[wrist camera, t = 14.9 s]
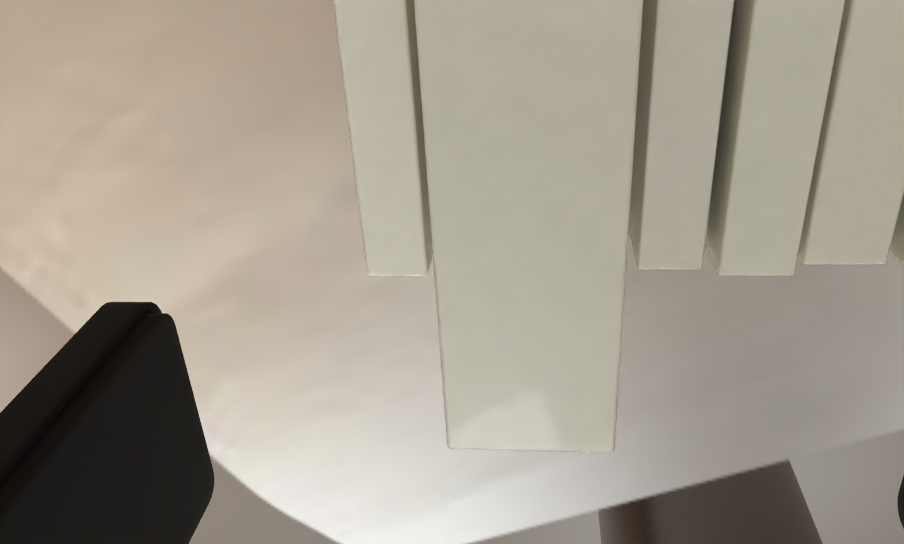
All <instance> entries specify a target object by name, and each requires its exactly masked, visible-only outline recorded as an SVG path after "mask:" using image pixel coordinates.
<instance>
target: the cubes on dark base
mask: <svg viewBox="0 0 904 544" xmlns="http://www.w3.org/2000/svg"><path fill="white" fill-rule="evenodd" d="M333 2H334V10H335V18H336V26H337V34H338V42H339V50H340V58H341V66H342V74H343V82H344V90H345V98H346V107H347V115H348V123H349V131H350V139H351V147H352V155H353V163H354V171H355V179H356V187H357V195H358V203H359V211H360V219H361V227H362V235H363V243H364V251H365V259H366V267H367V273H368V275H370V276H425V275H427V274H428V271H429V267H430V262H431V258H432V254H433V248H432V235H431V222H430V208H429V195H428V182H427V168H426V155H425V142H424V129H423V115H422V102H421V89H420V75H419V62H418V49H417V35H416V22H415V9H414V0H333ZM629 231H630V236H631V240H632V245H633V249H634V253H635V258H636V262H637V266H638V269H701V268H702V266H703V257H704V249H705V242H706V244H707V247H708V249H709V252H710V254H711V257H712V259H713V262H714V264H715V267H716V269H717V271H718V274H719V275H721V276H772V275H793V274H794V271H795V266H796V261H797V256H798V257H799V259H800V261H801V262H802V263H803V264H885V263H886V261H887V257H888V253H889V249H890V251H891V252H892V253H893V254H894V256H895V257H896V258H897V259H898V260H899V262H900V263H901V264H902V265H903V266H904V0H643V13H642V29H641V44H640V60H639V75H638V91H637V106H636V122H635V137H634V153H633V169H632V184H631V200H630V215H629Z"/></svg>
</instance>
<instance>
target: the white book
mask: <svg viewBox="0 0 904 544" xmlns="http://www.w3.org/2000/svg"><path fill="white" fill-rule="evenodd" d="M414 9H415V22H416V35H417V49H418V62H419V75H420V89H421V102H422V115H423V129H424V142H425V155H426V168H427V182H428V195H429V208H430V222H431V235H432V248H433V262H434V275H435V288H436V301H437V315H438V328H439V341H440V355H441V368H442V381H443V395H444V408H445V421H446V435H447V445H448V447H449V448H450V449H486V450H529V451H572V452H613V451H614V448H615V433H616V417H617V402H618V386H619V371H620V355H621V340H622V324H623V309H624V293H625V277H626V262H627V246H628V231H629V215H630V200H631V184H632V169H633V153H634V137H635V122H636V106H637V91H638V75H639V60H640V44H641V29H642V13H643V0H414Z"/></svg>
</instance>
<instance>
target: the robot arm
mask: <svg viewBox="0 0 904 544" xmlns="http://www.w3.org/2000/svg"><path fill="white" fill-rule="evenodd" d="M213 488H214V472H213V468H212V464H211V460H210V456H209V452H208V449H207V445H206V441H205V437H204V433H203V429H202V426H201V422H200V418H199V414H198V410H197V406H196V403H195V399H194V395H193V391H192V387H191V384H190V380H189V376H188V372H187V368H186V364H185V361H184V357H183V353H182V349H181V345H180V341H179V338H178V334H177V330H176V326H175V323H174V321H173V319H172V317H171V316H170V315H168V314H162V313H161V310H160V309H159V307H158V306H157V305H156V304H154V303H152V302H109V303H106V304H104V305H103V306H102V307H101V308H100V309H99V310H98V311H97V312H96V313H95V314H94V315H93V316H92V317H91V318H90V319H89V320H88V321H87V322H86V323H85V324H84V325H83V326H82V328H81V329H80V330H79V331H78V332H77V333H76V334H75V335H74V336H73V337H72V338H71V339H70V340H69V341H68V342H67V343H66V344H65V345H64V347H63V348H62V349H61V350H60V351H59V352H58V353H57V354H56V355H55V356H54V357H53V358H52V359H51V360H50V361H49V362H48V363H47V364H46V365H45V366H44V368H43V369H42V370H41V371H40V372H39V373H38V374H37V375H36V376H35V377H34V378H33V379H32V380H31V381H30V382H29V383H28V384H27V385H26V386H25V388H24V389H23V390H22V391H21V392H20V393H19V394H18V395H17V396H16V397H15V398H14V399H13V400H12V401H11V402H10V403H9V404H8V405H7V407H5V409H4V410H3V411H2V412H1V413H0V544H189V542H190V540H191V538H192V536H193V534H194V532H195V530H196V528H197V526H198V523H199V522H200V519H201V518H202V516H203V514H204V512H205V510H206V508H207V506H208V504H209V502H210V499H211V497H212V493H213ZM898 512H899V517H900V521H901V523H902V526H903V528H904V476H903V480H902V483H901V487H900V490H899V495H898Z"/></svg>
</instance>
